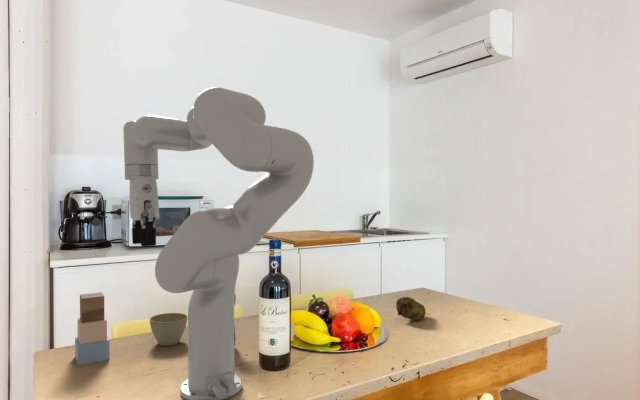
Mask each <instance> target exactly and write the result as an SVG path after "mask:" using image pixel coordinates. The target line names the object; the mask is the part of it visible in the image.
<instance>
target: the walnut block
mask: <svg viewBox="0 0 640 400" xmlns="http://www.w3.org/2000/svg"><path fill="white" fill-rule="evenodd" d="M104 316H105V295H104V293H103V292H92V293H89V292H88V293H82V294H81V293H80V294H79V318H80V319H81V322H82V323H86V322H93V321H100V320H104Z"/></svg>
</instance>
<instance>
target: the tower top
mask: <svg viewBox="0 0 640 400" xmlns="http://www.w3.org/2000/svg"><path fill="white" fill-rule="evenodd" d="M107 323H108V320H107V317H106V316H105V315H104V320H100V321H93V322H86V323H82V322H81V319H80V317H77V323H76V324H77V337H78V340H79V344H86V343H92V342H98V341H105V340H107V337H108V324H107Z"/></svg>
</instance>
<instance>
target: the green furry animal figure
mask: <svg viewBox="0 0 640 400" xmlns="http://www.w3.org/2000/svg"><path fill="white" fill-rule="evenodd" d="M395 307H396V312H397V315H398V316H401V317H402V318H404V319H408V320H411V321H415V322H416V321H417V320H418V321H420V320H421V321H422V320H423V319H424V318H425V316H426V307H425V306H424V305H423V304H422V303H420V302H417V301H416V300H415V298H412V297H410V296H402V297H400V298H398V299H397V300H396V302H395Z"/></svg>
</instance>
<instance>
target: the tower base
mask: <svg viewBox="0 0 640 400" xmlns="http://www.w3.org/2000/svg"><path fill="white" fill-rule="evenodd" d="M74 339H75V341H74V348H75V349H74V351H75V352H74V357H76V358H75V360H76V364H77V366H82V365H88V364H89V365H90V364H94V363H99V362H105V361H109V360H110V359H111V358H110V356H111V355H110V339H109V337H108V336H107V340H105V341H98V342H92V343H86V344H79V340H78V336H75V338H74Z"/></svg>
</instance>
